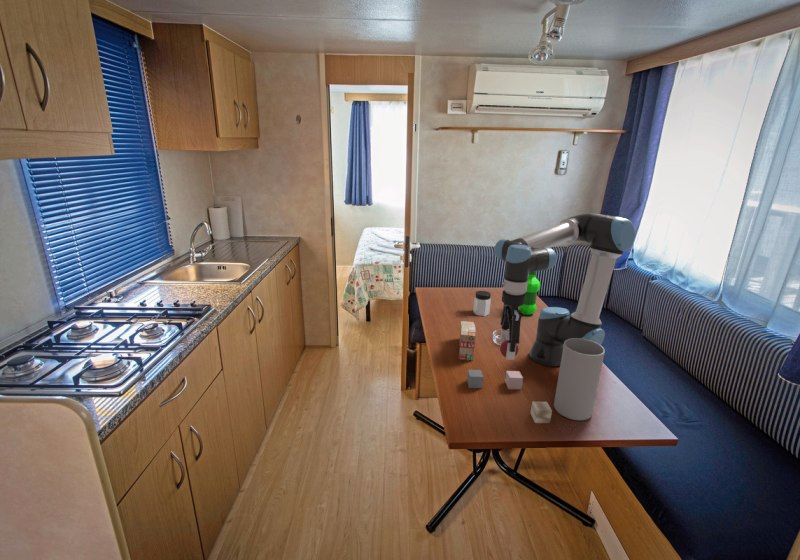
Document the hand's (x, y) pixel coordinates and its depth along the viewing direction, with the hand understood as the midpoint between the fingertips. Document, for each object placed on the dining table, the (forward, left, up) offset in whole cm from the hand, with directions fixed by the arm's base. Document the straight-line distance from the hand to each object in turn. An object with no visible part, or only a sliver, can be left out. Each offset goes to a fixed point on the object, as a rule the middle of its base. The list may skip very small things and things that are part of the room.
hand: (506, 352), depth 143 cm
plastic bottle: (-34, -85, -19) cm, 93 cm away
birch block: (-11, +10, -19) cm, 24 cm away
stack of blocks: (+7, -39, -20) cm, 45 cm away
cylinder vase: (-24, +5, -19) cm, 31 cm away
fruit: (0, 0, -1) cm, 1 cm away
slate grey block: (+8, -10, -19) cm, 23 cm away
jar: (-8, -83, -19) cm, 86 cm away
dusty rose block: (-7, -10, -19) cm, 23 cm away
